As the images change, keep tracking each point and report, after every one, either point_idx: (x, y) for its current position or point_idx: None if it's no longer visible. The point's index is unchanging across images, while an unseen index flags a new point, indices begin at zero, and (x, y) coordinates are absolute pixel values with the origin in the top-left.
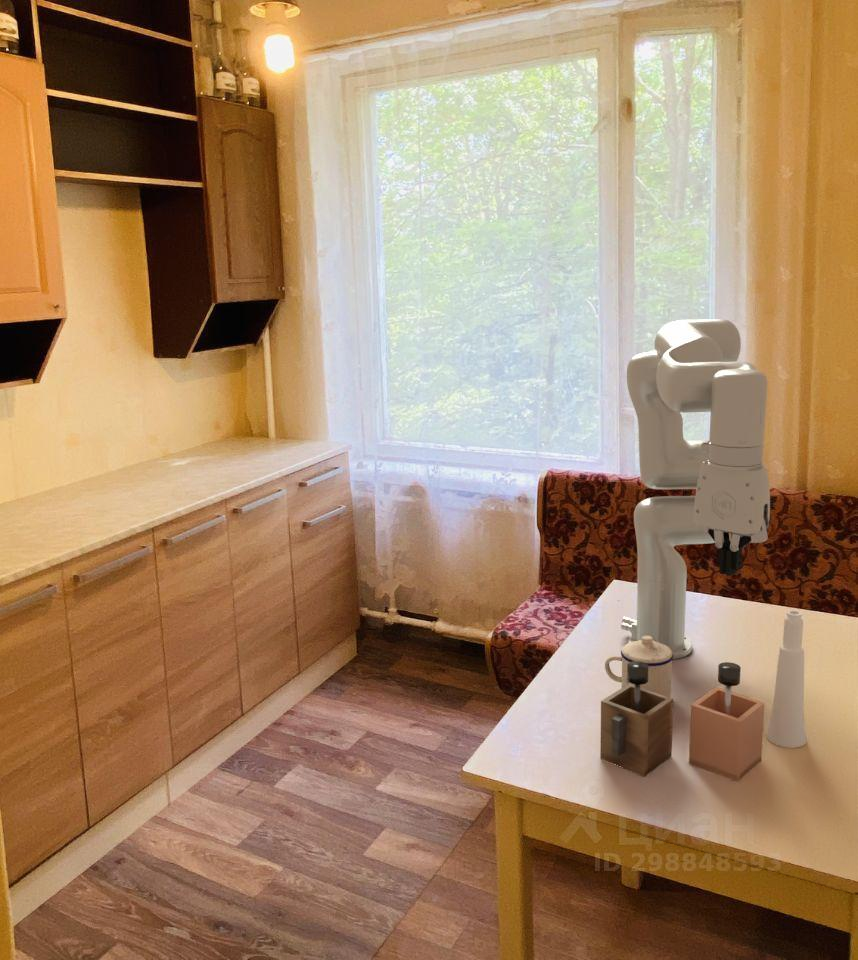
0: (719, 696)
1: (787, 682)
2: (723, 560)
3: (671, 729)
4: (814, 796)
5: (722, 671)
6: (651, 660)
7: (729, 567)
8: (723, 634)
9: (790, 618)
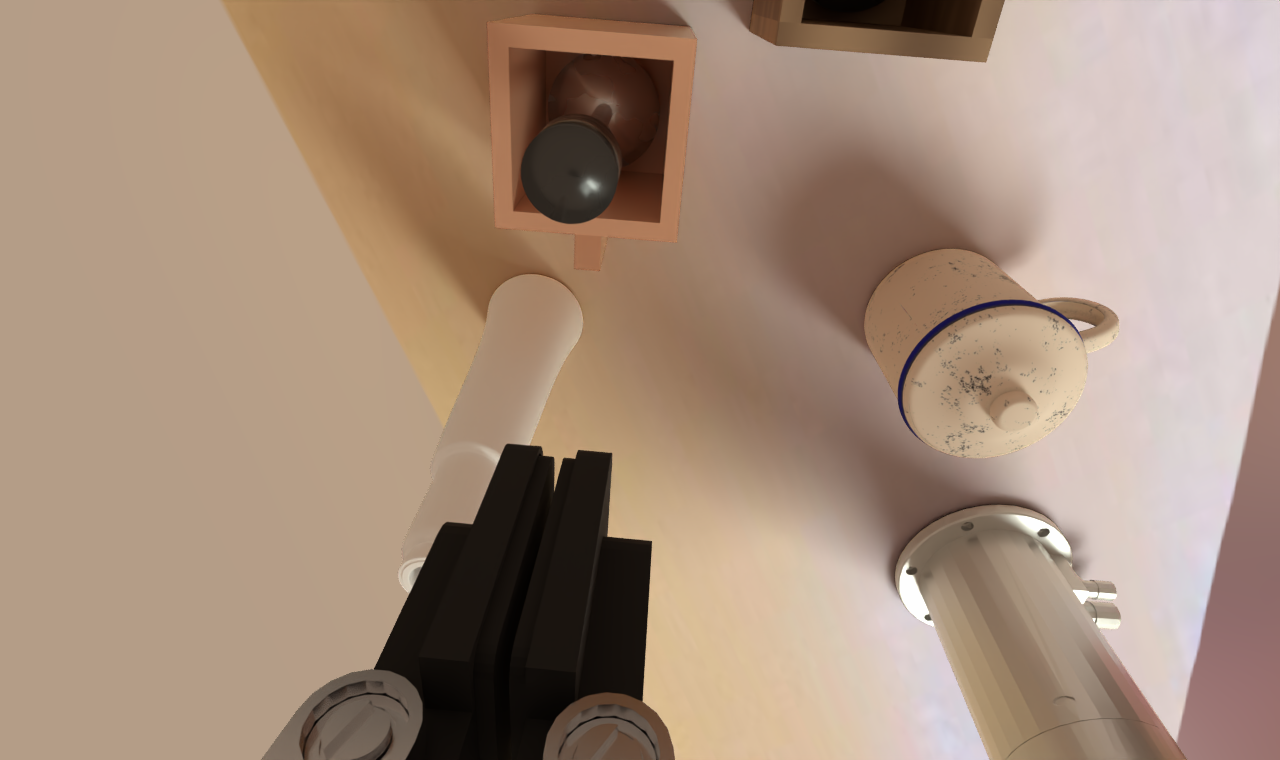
0: (655, 216)
1: (487, 375)
2: (550, 552)
3: (761, 29)
4: (352, 86)
5: (581, 126)
6: (958, 328)
7: (485, 497)
8: (850, 676)
9: None
